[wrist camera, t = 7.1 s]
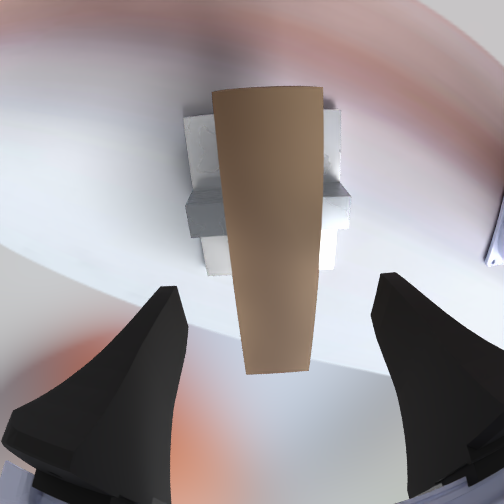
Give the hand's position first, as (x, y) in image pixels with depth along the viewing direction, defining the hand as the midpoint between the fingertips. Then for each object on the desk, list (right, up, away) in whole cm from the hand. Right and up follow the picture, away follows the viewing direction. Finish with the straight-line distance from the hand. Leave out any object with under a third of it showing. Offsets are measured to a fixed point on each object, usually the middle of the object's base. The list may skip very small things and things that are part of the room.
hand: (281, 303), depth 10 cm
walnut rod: (0, +4, +6) cm, 7 cm away
